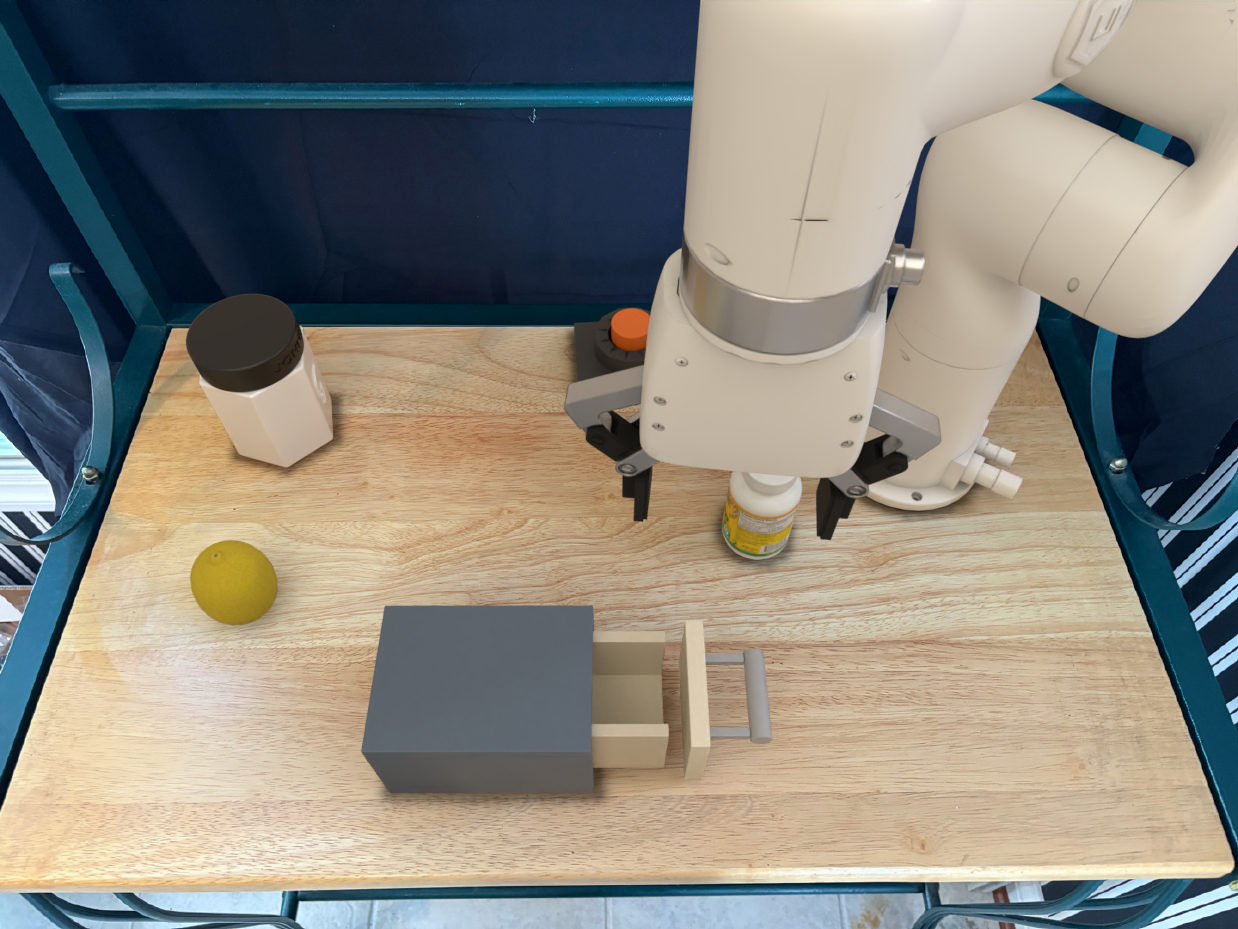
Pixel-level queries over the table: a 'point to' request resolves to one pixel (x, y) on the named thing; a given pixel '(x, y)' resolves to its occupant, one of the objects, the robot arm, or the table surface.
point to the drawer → (636, 699)
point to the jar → (261, 378)
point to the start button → (630, 329)
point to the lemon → (233, 582)
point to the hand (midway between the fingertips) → (732, 507)
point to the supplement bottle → (760, 513)
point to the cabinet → (482, 700)
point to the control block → (602, 349)
